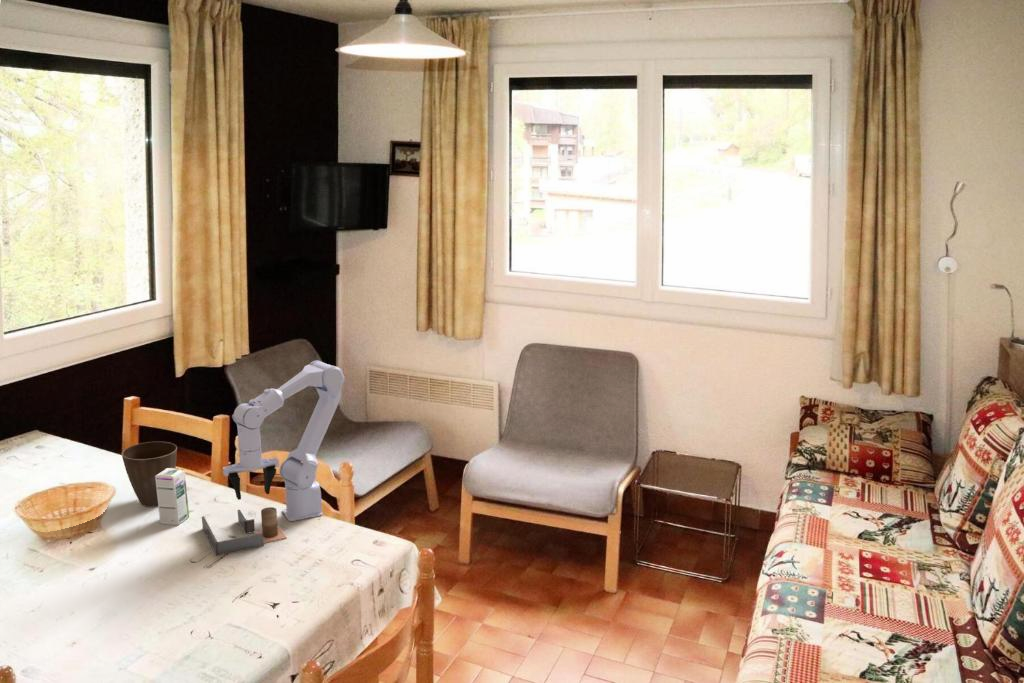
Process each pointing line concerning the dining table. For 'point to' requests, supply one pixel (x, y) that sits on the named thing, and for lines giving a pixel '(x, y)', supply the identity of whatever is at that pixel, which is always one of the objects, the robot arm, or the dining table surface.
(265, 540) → the coaster
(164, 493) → the syrup box
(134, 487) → the plant pot
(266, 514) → the walnut peg
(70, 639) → the dining table surface
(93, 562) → the dining table surface
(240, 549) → the rail channel
